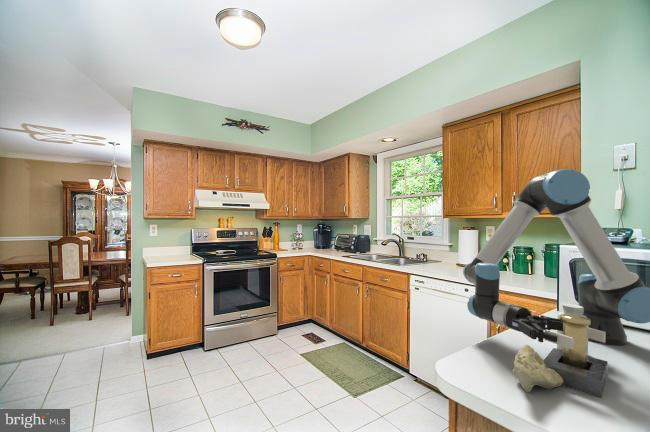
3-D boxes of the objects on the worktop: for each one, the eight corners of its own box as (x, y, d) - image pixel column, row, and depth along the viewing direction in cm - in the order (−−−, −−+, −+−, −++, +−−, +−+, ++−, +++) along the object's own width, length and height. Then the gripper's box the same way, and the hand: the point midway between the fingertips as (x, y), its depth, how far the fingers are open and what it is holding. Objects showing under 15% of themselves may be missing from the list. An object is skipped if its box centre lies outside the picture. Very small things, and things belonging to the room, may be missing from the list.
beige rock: (535, 380, 86) (491, 342, 88) (558, 366, 83) (512, 327, 84) (551, 429, 73) (498, 383, 74) (580, 415, 69) (524, 368, 71)
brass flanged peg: (572, 371, 88) (572, 313, 88) (596, 382, 81) (597, 320, 82) (553, 372, 86) (554, 314, 87) (576, 384, 80) (577, 321, 80)
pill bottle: (594, 359, 96) (594, 309, 96) (564, 356, 98) (565, 307, 98) (579, 349, 104) (579, 303, 104) (551, 346, 106) (552, 301, 106)
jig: (553, 361, 94) (553, 347, 94) (607, 376, 85) (607, 361, 85) (540, 378, 83) (540, 363, 83) (601, 398, 74) (601, 381, 74)
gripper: (538, 324, 105) (616, 348, 86) (483, 332, 96) (557, 361, 76) (538, 302, 105) (617, 321, 86) (484, 307, 96) (557, 330, 76)
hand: (589, 340), depth 81 cm, fingers open, 13 cm apart
